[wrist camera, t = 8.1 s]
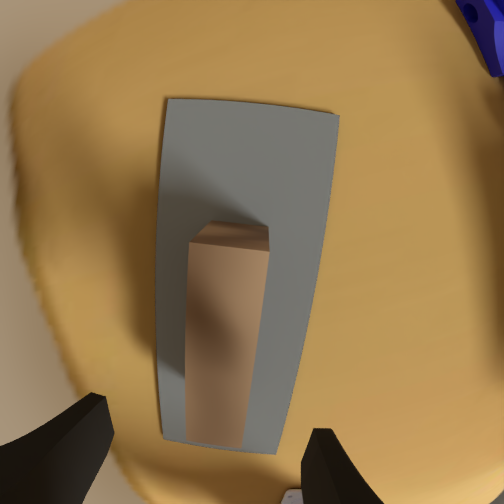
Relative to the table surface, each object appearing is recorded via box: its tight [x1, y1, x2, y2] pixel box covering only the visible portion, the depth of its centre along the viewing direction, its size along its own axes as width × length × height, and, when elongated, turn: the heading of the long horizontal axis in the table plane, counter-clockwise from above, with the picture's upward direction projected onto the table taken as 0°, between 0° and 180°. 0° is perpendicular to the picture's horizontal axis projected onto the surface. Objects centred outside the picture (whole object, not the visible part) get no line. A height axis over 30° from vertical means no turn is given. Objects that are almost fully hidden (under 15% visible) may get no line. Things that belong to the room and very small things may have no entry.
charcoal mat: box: [155, 99, 340, 455], centre depth 18 cm, size 24×9×1 cm, turn 174°
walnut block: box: [185, 220, 270, 448], centre depth 15 cm, size 3×11×5 cm, turn 174°
